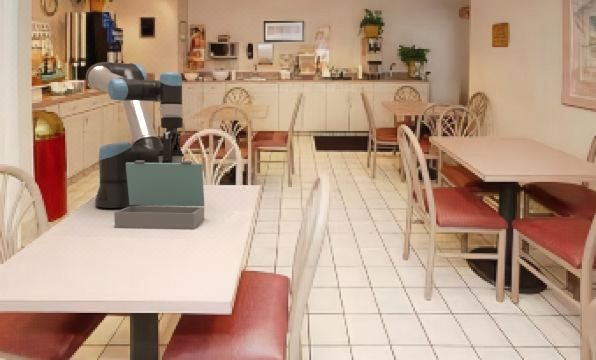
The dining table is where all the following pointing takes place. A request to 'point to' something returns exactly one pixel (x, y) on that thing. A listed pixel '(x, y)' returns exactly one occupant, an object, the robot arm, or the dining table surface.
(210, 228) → the dining table surface
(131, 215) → the grey shallow open piece
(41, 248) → the dining table surface
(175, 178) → the cover
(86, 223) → the dining table surface
